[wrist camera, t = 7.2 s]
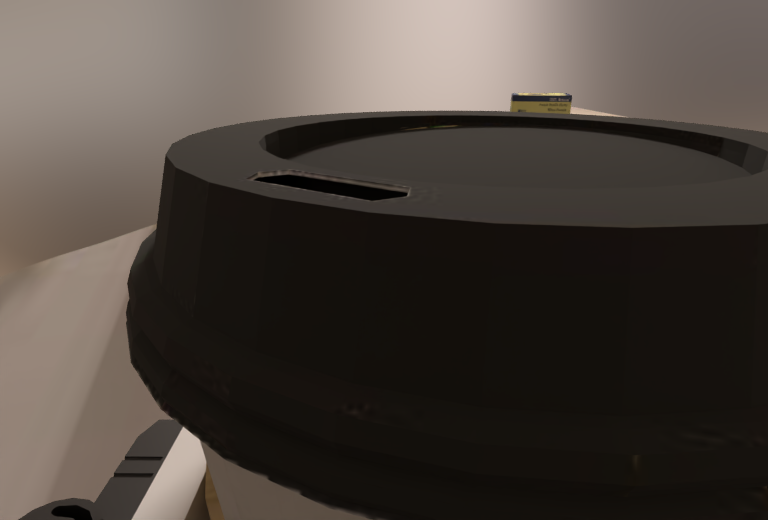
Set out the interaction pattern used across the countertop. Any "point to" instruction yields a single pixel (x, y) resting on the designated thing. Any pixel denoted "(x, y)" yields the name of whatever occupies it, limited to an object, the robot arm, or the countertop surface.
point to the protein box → (541, 103)
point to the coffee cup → (463, 316)
